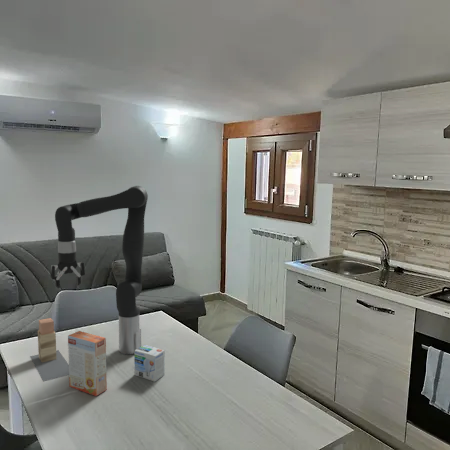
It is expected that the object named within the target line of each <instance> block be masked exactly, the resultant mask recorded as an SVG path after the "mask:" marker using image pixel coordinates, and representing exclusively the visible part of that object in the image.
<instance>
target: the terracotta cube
mask: <svg viewBox="0 0 450 450" xmlns="http://www.w3.org/2000/svg"><path fill="white" fill-rule="evenodd" d="M54 322H55V321H54V319H52V318H51V317H48V318H42V319H38V331H39V332H40V333H41V335H44V334H49V333H54V331H55V323H54Z"/></svg>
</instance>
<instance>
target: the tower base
mask: <svg viewBox="0 0 450 450" xmlns="http://www.w3.org/2000/svg"><path fill="white" fill-rule="evenodd" d="M37 345H38V344H37ZM37 347H38V349H37V351H38V354H39V359H40V360H41V362H46V361H51V360H55V359H57V358H56V351H57V345H56V346H54V347H49V348H44V349H41V348H40V346H39V345H38V346H37Z"/></svg>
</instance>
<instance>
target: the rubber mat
mask: <svg viewBox="0 0 450 450" xmlns="http://www.w3.org/2000/svg"><path fill="white" fill-rule="evenodd" d="M29 357H30V359H31V361H32V362H33V365H34V367H35V369H36V370H37V372H38V374H39V376H40V378H41V379H42V382H46V381H51V380H56V379H59V378H63V377H66V376H69V362H67V359H65V357H64V356H63V354H62V352H61V351H60V350H59V349H56V358H57V359H55V360H51V361H46V362H41V360H40V359H39V353H38V354H34V355H30V356H29Z"/></svg>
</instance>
